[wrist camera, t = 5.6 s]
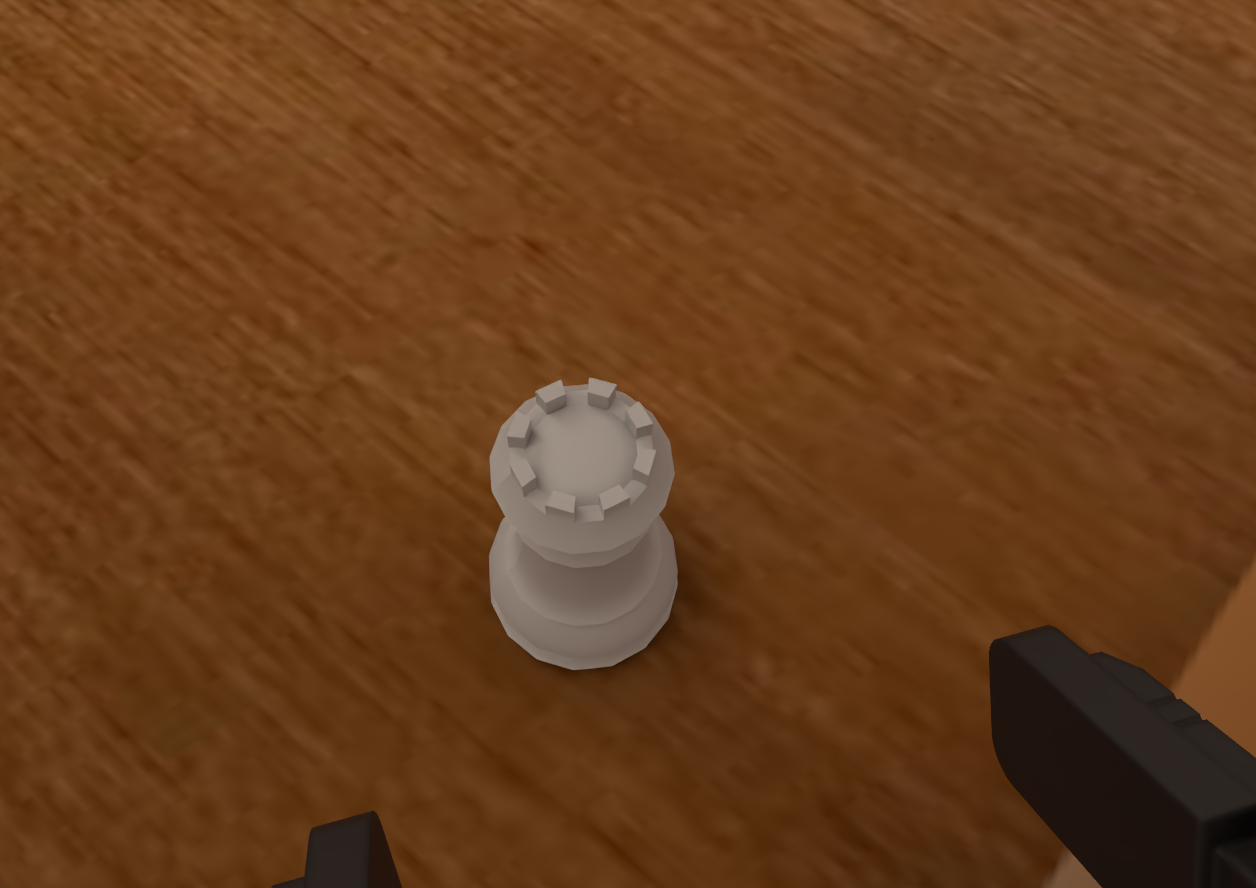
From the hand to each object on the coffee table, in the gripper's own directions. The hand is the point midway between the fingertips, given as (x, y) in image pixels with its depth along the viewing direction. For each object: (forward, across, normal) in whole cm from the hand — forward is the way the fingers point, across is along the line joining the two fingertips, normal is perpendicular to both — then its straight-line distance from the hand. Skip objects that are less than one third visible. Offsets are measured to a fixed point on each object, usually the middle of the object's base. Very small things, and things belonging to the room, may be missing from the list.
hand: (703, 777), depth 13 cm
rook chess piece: (+12, 0, +3) cm, 12 cm away
